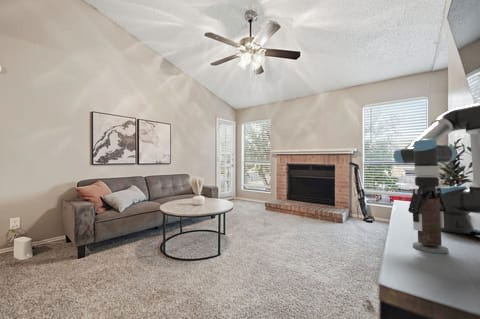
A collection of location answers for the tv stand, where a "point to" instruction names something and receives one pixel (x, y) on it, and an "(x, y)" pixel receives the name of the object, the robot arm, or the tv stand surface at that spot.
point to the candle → (430, 223)
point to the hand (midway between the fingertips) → (429, 228)
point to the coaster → (431, 248)
